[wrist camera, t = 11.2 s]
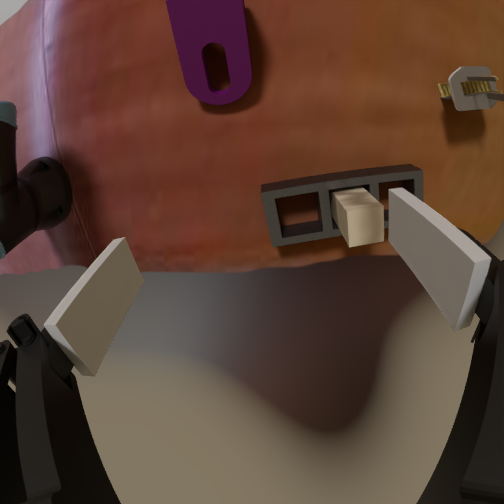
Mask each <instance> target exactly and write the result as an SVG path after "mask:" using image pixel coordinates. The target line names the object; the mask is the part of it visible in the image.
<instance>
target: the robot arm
mask: <svg viewBox="0 0 504 504" xmlns="http://www.w3.org/2000/svg"><path fill="white" fill-rule="evenodd" d="M16 117H17V110H16V106H15V105H14V104H13V103H11V102H8V101H0V259H2V258H4V257H5V255H6V254H7V253H9V252H10V251H11V250H12V249H13V248H15V247H16V246H17V245H18V244H19V243H21V242H22V241H23V240H24V239H26V238H27V237H28V236H29V235H31V234H32V233H33V232H35V231H39V230H44V229H48V228H53V227H55V226H57V225H58V224H60V223H61V222H62V221H64V220H65V218H66V217H67V216H68V214H69V211H70V208H71V203H72V191H71V186H70V182H69V179H68V176H67V174H66V172H65V170H64V169H63V168H62V166H61V165H60V164H59V163H58V162H57V161H56V160H54V159H52V158H50V157H40V158H37V159H35V160H32V161H31V162H29V163H28V164H27V165H26V166H25V167H24V168H23V169H22V170H21V171H20V172H19V173H18V174H17V164H16V130H17V125H16ZM388 190H389V237H388V241H389V242H390V244H391V245H392V246H393V247H394V248H395V250H396V251H397V252H398V253H399V255H400V256H401V257H402V259H403V260H404V261H405V262H406V264H407V265H408V266H409V267H410V269H411V270H412V271H413V273H414V274H415V275H416V277H417V278H418V279H419V281H420V282H421V284H422V285H423V286H424V288H425V289H426V291H427V292H428V293H429V295H430V296H431V298H433V301H434V302H435V303H436V305H437V306H438V308H439V309H440V311H441V312H442V313H443V315H444V317H445V318H446V320H447V321H448V323H449V324H450V326H451V328H452V329H453V331H454V332H455V331H458V330H460V329H463V328H465V327H468V326H470V324H471V322H472V319H473V316H474V314H475V313H476V314H477V316H478V317H479V318H480V321H479V324H478V326H477V328H476V331H475V333H474V335H473V338H472V340H471V342H472V343H473V342H474V340H475V344H474V349H473V355H472V360H471V365H470V369H469V373H468V378H467V382H466V386H465V390H464V393H463V397H462V400H461V404H460V407H459V410H458V413H457V416H456V419H455V422H454V425H453V428H452V431H451V433H450V436H449V438H448V441H447V443H446V446H445V448H444V450H443V453H442V455H441V458H440V460H439V462H438V464H437V466H436V468H435V471H434V472H433V474H432V477H431V479H430V480H429V482H428V484H427V486H426V488H425V490H424V492H423V493H422V495H421V497H420V499H419V500H418V502H417V504H504V260H502V261H500V260H499V259H498V258H497V257H496V256H494V255H493V254H492V253H491V252H490V251H489V250H488V249H487V248H486V247H484V246H483V245H481V243H480V242H479V241H478V240H475V238H474V237H473V236H472V235H470V234H469V233H468V232H466V231H464V230H462V229H460V228H458V227H455V226H454V225H453V224H451V223H450V222H449V221H448V220H446V219H445V218H444V217H442V216H441V215H440V214H439V213H437V212H436V211H435V210H433V209H432V208H430V207H429V206H428V205H426V204H425V203H424V202H422V201H421V200H419V199H418V198H417V197H415V196H414V195H412V194H411V193H409V192H408V191H407V190H405V189H404V188H394V189H388ZM143 282H144V280H143V278H142V276H141V274H140V271H139V269H138V267H137V265H136V262H135V260H134V258H133V255H132V253H131V251H130V248H129V246H128V244H127V241H126V239H125V237H123V238H119V239H115V240H113V241H112V242H111V243H110V244H109V245H108V246H107V247H106V249H105V250H104V251H103V252H102V253H101V254H100V255H99V256H98V257H97V259H96V260H95V261H94V262H93V263H92V264H91V265H90V267H89V268H88V269H87V270H86V271H85V273H84V274H83V275H82V276H81V277H80V279H79V280H78V281H77V282H76V283H75V285H74V286H73V287H72V288H71V289H70V291H69V292H68V293H67V295H66V296H65V297H64V298H63V300H62V301H61V302H60V304H59V305H58V306H57V308H56V309H55V310H54V311H53V313H52V314H51V315H50V317H49V318H48V319H47V321H46V322H45V324H44V329H43V330H42V331H41V332H40V331H39V329H38V328H37V326H36V325H35V324H34V322H33V320H32V319H31V317H30V316H29V315H28V314H23V315H21V316H19V317H17V318H16V319H15V320H14V321H13V322H12V323H11V324H10V325H9V327H8V329H7V333H8V334H9V336H10V337H11V338H12V340H13V341H14V342H15V344H16V345H17V346H18V348H14V347H13V345H12V344H11V342H10V341H9V340H5V341H3V342H0V504H121V503H120V501H119V499H118V497H117V495H116V493H115V491H114V489H113V487H112V484H111V482H110V480H109V478H108V476H107V473H106V471H105V469H104V467H103V464H102V462H101V459H100V456H99V454H98V451H97V449H96V446H95V443H94V440H93V438H92V434H91V431H90V428H89V425H88V422H87V419H86V415H85V412H84V409H83V405H82V401H81V397H80V393H79V389H78V386H77V381H76V377H75V376H74V374H73V373H72V372H71V370H72V368H73V366H75V367H76V369H77V370H78V371H79V372H80V373H81V374H82V375H85V376H95V375H96V373H97V371H98V369H99V367H100V365H101V362H102V360H103V358H104V356H105V354H106V352H107V350H108V348H109V346H110V344H111V342H112V340H113V338H114V336H115V334H116V332H117V330H118V328H119V326H120V324H121V322H122V320H123V319H124V317H125V315H126V313H127V311H128V309H129V307H130V306H131V303H132V302H133V300H134V298H135V296H136V295H137V293H138V291H139V289H140V287H141V285H142V284H143ZM9 380H10V381H11V382H12V383H13V384H14V385H15V386H16V393H15V392H14V391H13V390H12V389H11V388H10V386H9V385H8V381H9Z"/></svg>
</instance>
